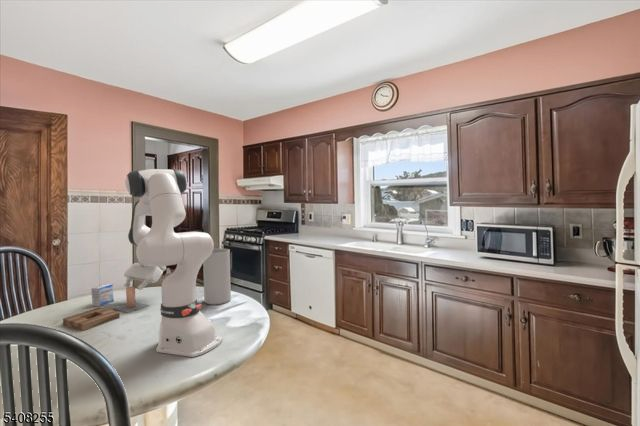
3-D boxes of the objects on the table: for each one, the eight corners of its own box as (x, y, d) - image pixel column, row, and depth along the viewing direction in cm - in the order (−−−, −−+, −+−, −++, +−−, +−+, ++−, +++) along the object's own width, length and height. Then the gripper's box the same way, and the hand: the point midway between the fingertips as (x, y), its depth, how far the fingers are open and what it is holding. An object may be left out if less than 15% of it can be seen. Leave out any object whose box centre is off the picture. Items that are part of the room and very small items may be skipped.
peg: (137, 305, 147) (136, 287, 146) (130, 308, 144) (129, 289, 143) (132, 304, 149) (131, 286, 148) (125, 307, 145) (124, 288, 145)
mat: (148, 305, 149) (148, 304, 149) (127, 313, 140) (127, 311, 140) (134, 302, 153) (134, 301, 153) (113, 309, 144) (113, 308, 144)
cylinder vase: (235, 300, 156) (234, 250, 154) (212, 307, 146) (211, 254, 145) (222, 295, 164) (221, 247, 163) (199, 301, 155) (198, 251, 153)
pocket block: (119, 317, 134) (119, 312, 134) (83, 330, 122) (83, 324, 121) (99, 312, 140) (99, 307, 140) (63, 324, 128) (62, 318, 127)
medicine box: (99, 306, 148) (99, 288, 147) (92, 306, 149) (91, 288, 148) (114, 301, 155) (113, 283, 155) (106, 300, 156) (105, 283, 156)
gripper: (132, 257, 157) (113, 281, 149) (160, 261, 148) (142, 287, 140) (141, 264, 161) (123, 288, 153) (169, 268, 153) (151, 294, 144)
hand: (132, 287), depth 146 cm, fingers open, 8 cm apart
